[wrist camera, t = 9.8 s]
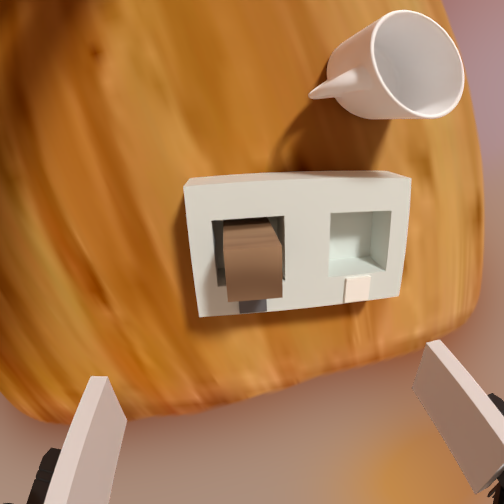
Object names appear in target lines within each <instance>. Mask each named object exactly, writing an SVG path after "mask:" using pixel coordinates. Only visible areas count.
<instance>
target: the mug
mask: <svg viewBox="0 0 504 504" xmlns="http://www.w3.org/2000/svg"><path fill="white" fill-rule="evenodd" d="M463 88H464V69H463V64H462V60H461V57H460V54H459V52H458V49H457V48H456V46H455V44H454V42H453V41H452V39H451V38H450V36H449V35H448V34H447V32H446V31H445V30H444V29H443V28H442V27H441V26H440V25H439V24H437V23H436V22H435V21H433V20H432V19H431V18H429V17H427V16H425V15H423V14H421V13H418V12H414V11H409V10H397V11H393V12H390V13H388V14H386V15H385V16H383V17H381V18H380V19H378V20H377V21H375V22H373V23H372V24H370V25H369V26H367V27H365V28H364V29H362V30H361V31H359V32H358V33H356V34H355V35H353V36H352V37H350V38H349V39H347V40H346V41H344V42H343V43H341V44H340V45H339V46H338V47H337V48H336V49H335V50H334V51H333V53H332V55H331V56H330V58H329V61H328V65H327V80H326V81H325V82H323V83H322V84H320V85H319V86H318V87H316V88H315V89H313V90H312V91H311V92H310V93H309V94H308V97H309V98H311V99H323V98H334V97H335V99H336V100H337V101H338V103H339V104H340V105H341V106H342V107H343V108H344V109H346V110H347V111H348V112H350V113H352V114H354V115H356V116H358V117H361V118H366V119H436V118H440V117H443V116H445V115H447V114H448V113H450V112H451V111H452V110H453V109H454V108H455V107H456V105H457V104H458V102H459V100H460V98H461V96H462V93H463Z"/></svg>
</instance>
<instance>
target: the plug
mask: <svg viewBox="0 0 504 504" xmlns="http://www.w3.org/2000/svg"><path fill="white" fill-rule="evenodd" d="M223 253H224V265H225V276H226V287H227V298H228V302H237V301H250V300H261V299H273V298H283V285H282V245H281V243H280V241H279V239H278V237H277V235H276V233H275V231H274V229H273V227H272V225H271V224H270V222H269V220H268V218H267V217H256V218H241V219H227V220H223Z"/></svg>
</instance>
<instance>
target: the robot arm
mask: <svg viewBox="0 0 504 504" xmlns="http://www.w3.org/2000/svg"><path fill="white" fill-rule="evenodd" d="M412 389H413V391H414V392H415V394H416V395H417V397H418V399H419V400H420V402H421V403H422V405H423V407H424V408H425V410H426V411H427V413H428V415H429V416H430V418H431V420H432V421H433V423H434V424H435V426H436V428H437V429H438V431H439V433H440V434H441V436H442V437H443V439H444V441H445V443H446V444H447V446H448V448H449V449H450V451H451V453H452V454H453V456H454V458H455V460H456V461H457V463H458V465H459V466H460V468H461V470H462V472H463V473H464V475H465V477H466V479H467V480H468V482H469V484H470V486H471V487H472V490H473V491H474V493H475V494H477V493H479V492H480V491H482V490H484V489H486V488H487V487H489V486H490V485H491V484H492V483H493V482H494V481H495V480H496V479H498V481H499V483H498V484H497V485H496V486H495V487H494V488H493V489H492V490H491V491H490V492H489V494H488V497H490V496H491V495H492V494H493V493H494V492H495V494H494V496H493V497H492V498H494V501H493V504H504V401H503V400H502V399H501V398H499V397H497V396H496V395H494V394H493V393H491V394H489V395H486V393H485V392H484V391H483V390H482V389H481V387H480V386H479V385H478V384H477V382H476V381H475V380H474V379H473V378H472V377H471V375H470V374H469V373H468V372H467V370H466V369H465V368H464V367H463V366H462V364H461V363H460V362H459V361H458V360H457V359H456V358H455V357H454V355H453V354H452V353H451V352H450V351H449V349H448V348H447V347H446V346H445V345H444V344H443V343H442V341H441V340H436V341H432V342H428V343H426V346H425V349H424V352H423V356H422V359H421V363H420V365H419V368H418V371H417V375H416V377H415V381H414V383H413V386H412ZM126 423H127V419H126V417H125V415H124V413H123V411H122V409H121V406H120V404H119V402H118V400H117V397H116V395H115V393H114V391H113V388H112V386H111V384H110V381H109V379H108V377H104V376H91V377H90V379H89V382H88V384H87V386H86V389H85V391H84V394H83V396H82V398H81V401H80V403H79V406H78V408H77V411H76V413H75V416H74V418H73V421H72V423H71V426H70V429H69V431H68V434H67V437H66V439H65V442H64V445H63V447H62V450H61V449H55V448H51V449H50V450H49V451H48V452H47V453H46V454H45V455H44V456H43V458H42V461H41V464H40V466H39V471H38V472H37V474H36V479H35V480H34V483H33V486H32V489H31V492H30V495H29V498H28V501H27V504H109V501H110V495H111V490H112V485H113V480H114V475H115V471H116V466H117V461H118V457H119V453H120V448H121V444H122V439H123V435H124V431H125V427H126ZM4 504H12V503H4Z"/></svg>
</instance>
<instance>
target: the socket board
mask: <svg viewBox="0 0 504 504" xmlns="http://www.w3.org/2000/svg"><path fill="white" fill-rule="evenodd" d="M183 188H184V198H185V208H186V218H187V227H188V236H189V244H190V253H191V261H192V269H193V276H194V284H195V291H196V298H197V305H198V312H199V317H208V316H222V315H236V314H248V313H260V312H271V311H281V310H291V309H301V308H310V307H319V306H328V305H336V304H344V303H352V302H360V301H367V300H375V299H382V298H389V297H395V296H399V292H400V286H401V279H402V272H403V265H404V258H405V250H406V241H407V232H408V221H409V209H410V195H411V178H409V177H405V176H402V175H399V174H396V173H392V172H389V171H298V172H272V173H253V174H236V175H222V176H209V177H197V178H190V179H189V180H188V181H187V183H186V184H185V185H184V186H183ZM256 217H267V218H268V220H269V222H270V224H271V225H272V227H273V229H274V231H275V233H276V235H277V237H278V239H279V241H280V243H281V245H282V285H283V298H273V299H261V300H250V301H237V302H228V298H227V287H226V276H225V265H224V253H223V220H227V219H241V218H256Z"/></svg>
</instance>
